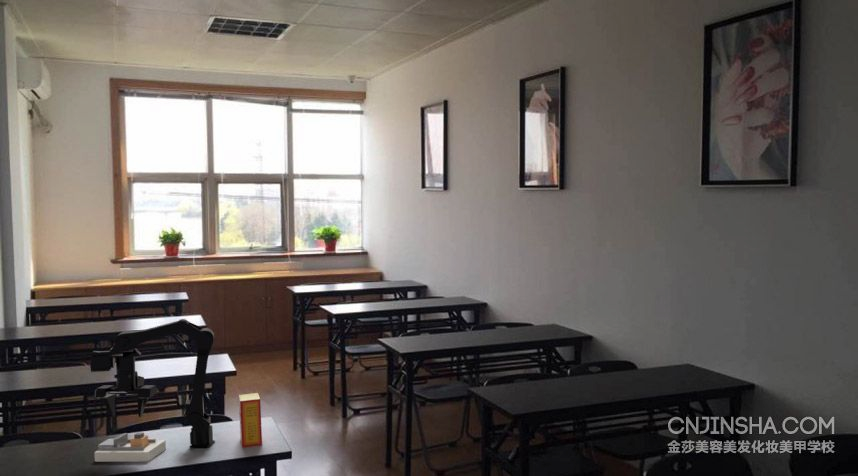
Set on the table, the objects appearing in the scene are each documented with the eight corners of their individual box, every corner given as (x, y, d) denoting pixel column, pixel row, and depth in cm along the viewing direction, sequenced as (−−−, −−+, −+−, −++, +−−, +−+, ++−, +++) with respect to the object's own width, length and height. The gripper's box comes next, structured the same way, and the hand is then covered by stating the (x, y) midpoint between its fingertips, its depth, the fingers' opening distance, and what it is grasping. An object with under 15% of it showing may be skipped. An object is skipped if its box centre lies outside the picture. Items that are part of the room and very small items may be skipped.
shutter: (127, 442, 235) (127, 433, 235) (117, 448, 228) (116, 439, 228) (109, 442, 236) (108, 433, 236) (98, 448, 229) (97, 439, 229)
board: (166, 449, 237) (165, 437, 237) (148, 461, 225) (147, 449, 225) (115, 449, 238) (114, 437, 238) (94, 461, 226) (94, 449, 226)
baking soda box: (240, 439, 244) (238, 393, 244) (259, 437, 246) (257, 391, 246) (242, 447, 235) (240, 400, 235) (262, 445, 237) (260, 398, 237)
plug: (148, 453, 233) (147, 431, 233) (142, 457, 229) (141, 435, 229) (137, 453, 233) (136, 431, 233) (131, 457, 229) (130, 435, 229)
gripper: (164, 365, 240) (165, 410, 240) (111, 365, 241) (112, 410, 241) (148, 372, 229) (149, 419, 229) (93, 372, 230) (94, 419, 230)
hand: (127, 417), depth 233 cm, fingers open, 9 cm apart
